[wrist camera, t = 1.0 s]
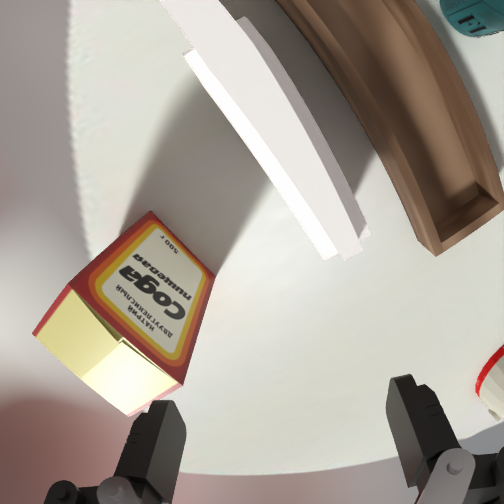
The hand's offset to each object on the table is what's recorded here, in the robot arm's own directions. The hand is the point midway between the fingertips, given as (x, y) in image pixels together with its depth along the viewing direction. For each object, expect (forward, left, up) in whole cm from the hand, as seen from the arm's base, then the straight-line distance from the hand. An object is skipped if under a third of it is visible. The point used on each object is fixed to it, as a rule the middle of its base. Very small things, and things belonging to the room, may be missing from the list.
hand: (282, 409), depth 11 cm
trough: (-17, -8, -22) cm, 29 cm away
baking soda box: (+12, -3, -22) cm, 25 cm away
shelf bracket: (-5, -10, -22) cm, 25 cm away
